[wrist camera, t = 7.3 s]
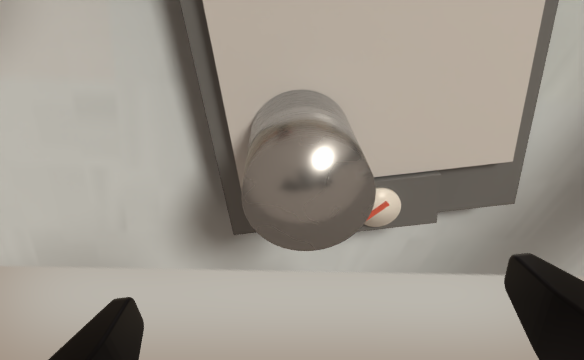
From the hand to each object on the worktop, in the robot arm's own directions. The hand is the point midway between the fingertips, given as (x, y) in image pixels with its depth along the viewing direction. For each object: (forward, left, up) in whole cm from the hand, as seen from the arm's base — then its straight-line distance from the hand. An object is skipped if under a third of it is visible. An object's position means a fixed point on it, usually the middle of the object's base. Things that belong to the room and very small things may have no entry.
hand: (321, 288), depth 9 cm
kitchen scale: (-4, -2, -12) cm, 13 cm away
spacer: (0, 0, -9) cm, 9 cm away
